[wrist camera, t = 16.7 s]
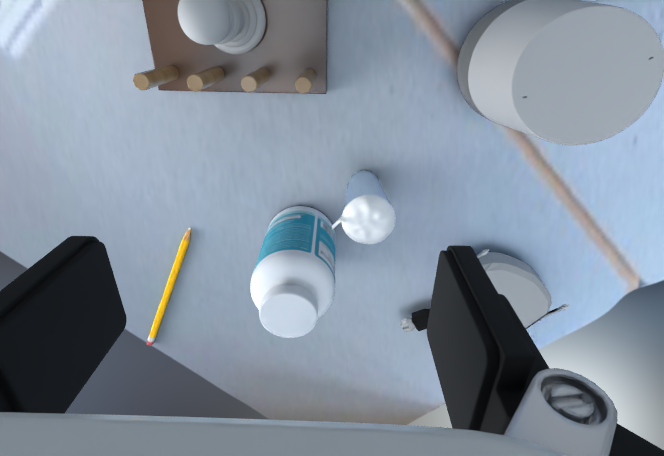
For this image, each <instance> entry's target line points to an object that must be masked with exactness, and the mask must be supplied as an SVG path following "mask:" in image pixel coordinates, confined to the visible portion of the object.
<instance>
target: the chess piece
mask: <svg viewBox="0 0 664 456" xmlns="http://www.w3.org/2000/svg"><path fill="white" fill-rule="evenodd" d="M178 19H179V23H180V25H181V28H182V30H183V31H184V33H185V34H186V35H187V36H188V37H189V38H190V39H191V40H193V41H195V42H197V43H199V44H204V45H212V44H214V45H215V46H216V47H217V48H219V49H220V50H222V51H224V52H227V53H230V54H243V53H246V52H249V51H251V50H252V49H254V48H255V47H256V46H257V45H258V44H259V42H260V41H261V39H262V37H263V34H264V31H265V25H266V17H265V11H264V8H263V5H262V2H261V1H260V0H180V1H179V4H178Z"/></svg>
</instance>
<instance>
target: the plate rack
mask: <svg viewBox="0 0 664 456" xmlns="http://www.w3.org/2000/svg"><path fill="white" fill-rule="evenodd" d="M142 1H143V7H144V12H145V17H146V23H147V28H148V34H149V39H150V45H151V50H152V55H153V61H154V66H155V69H153V70H149V71H145V72H141V73H137V74H135V75H134V78H133V82H134V85H135V86H136V87H137V88H138V89H140V90H147V89H150V88H153V87H156V86H158V88H159V90H170V91H216V92H263V93H302V94H305V93H309V94H326V91H327V0H260V1H261V2H262V5H263V8H264V11H265V17H266V25H265V31H264V34H263V37H262V39H261V41H260V42H259V44H258V45H257V46H256V47H255V48H254V49H252V50H251V51H249V52H246V53H243V54H230V53H227V52H224V51H222V50H220V49H219V48H217V47H216V46H215V45H214V44H212V45H204V44H199V43H197V42H195V41H193V40H191V39H190V38H189V37H188V36H187V35H186V34H185V33H184V31H183V30H182V28H181V25H180V23H179V19H178V4H179V1H180V0H142Z"/></svg>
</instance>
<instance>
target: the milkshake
mask: <svg viewBox="0 0 664 456" xmlns="http://www.w3.org/2000/svg"><path fill="white" fill-rule="evenodd" d="M341 221H342V226H343V229H344V231H345V233H346V234H347V235H348V236H349V237H350V238H351V239H352V240H354V241H356V242H359V243H364V244H376V243H379V242H381V241H383V240H384V239H385V238H386V237H387V236H388V235H389V234H390V233H391V232H392V231H393V229H394V226H395V221H396V216H395V212H394V209H393V207H392V205H391V203H390V202H389V200H388V198H387V196H386V194H385V192H384V189H383V187H382V185H381V183H380V181H379V179H378V177H377V176H375V175H374V174H373V173H372V172H371V171H362V170H360V171H359V172H357V173H355V174H353V175H352V176H351V178H350V180H349V182H348V185H347V191H346V198H345V205H344V209H343V214H342V216H341V217H340V218H339V219H338V220H337V221H336V222H335V223H334V224H333V225H332V229H331V230H333V229H334V228H335V227H336V226H337V225H338V224H339V223H340V222H341Z"/></svg>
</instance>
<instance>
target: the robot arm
mask: <svg viewBox="0 0 664 456" xmlns="http://www.w3.org/2000/svg"><path fill="white" fill-rule="evenodd" d="M125 326H126V314H125V311H124V308H123V304H122V301H121V298H120V295H119V291H118V288H117V285H116V281H115V278H114V275H113V271H112V268H111V265H110V261H109V258H108V255H107V251H106V248H105V245H104V244H103V243H102V242H99V240H98V239H97V238H96V237H94V236H71V237H69V238H67V239H66V240H65V241H63V242H62V243H61V244H60V245H58V246H57V247H56V248H54V249H53V250H52V251H51V252H49V253H48V254H47V255H46V256H44V257H43V258H42V259H40V260H39V261H38V262H37V263H35V264H34V265H33V266H32V267H30V268H29V269H28V270H27V271H25V272H24V273H23V274H21V275H20V276H19V277H18V278H16V279H15V280H14V281H12V282H11V283H10V284H9V285H7V286H6V287H5V288H4V289H2V290H1V291H0V456H664V450H662V449H660V448H658V447H657V446H655V445H653V444H652V443H650V442H648V441H646V440H645V439H643V438H641V437H640V436H638V435H636V434H634V433H633V432H631V431H629V430H627V429H626V428H624V427H622V426H620V425H619V424H617V410H616V408H615V406H614V404H613V402H612V400H611V399H610V398H609V397H608V395H607V394H606V393H605V392H604V391H603V390H602V389H601V388H600V387H598V386H597V385H596V384H595V383H594V382H592V381H590V380H588V379H587V378H585V377H583V376H582V375H579V374H577V373H574V372H571V371H568V370H563V369H557V368H556V369H555V368H554V369H549V367H548V365H547V364H546V362H545V360H544V359H543V357H542V355H541V354H540V352H539V350H538V349H537V347H536V346H535V344H534V342H533V341H532V339H531V337H530V336H529V334H528V332H527V331H526V329H525V327H524V326H523V324H522V322H521V321H520V319H519V317H518V316H517V314H516V312H515V311H514V309H513V307H512V306H511V304H510V302H509V301H508V299H507V298H506V297H505V295H502V294H498V292H497V290H496V289H495V287H494V285H493V284H492V282H491V280H490V278H489V277H488V275H487V273H486V271H485V270H484V268H483V266H482V265H481V263H480V261H479V259H478V258H477V256H476V254H475V253H474V251H473V249H472V248H471V247H470V246H448V248H447V251H441V252H440V255H439V261H438V266H437V272H436V278H435V284H434V289H433V295H432V301H431V307H430V312H429V318H428V324H427V336H428V341H429V344H430V348H431V351H432V355H433V359H434V362H435V366H436V370H437V373H438V377H439V381H440V384H441V388H442V391H443V395H444V399H445V402H446V406H447V410H448V413H449V416H450V421H451V424H452V428H442V427H426V426H409V425H390V424H371V423H346V422H318V421H291V420H263V419H231V418H200V417H167V416H134V415H96V414H64V413H65V412H66V410H67V409H68V408H69V406H70V405H71V403H72V402H73V401H74V399H75V398H76V396H77V395H78V393H79V392H80V391H81V389H82V388H83V386H84V385H85V384H86V382H87V381H88V379H89V378H90V376H91V375H92V374H93V372H94V371H95V370H96V368H97V367H98V365H99V364H100V362H101V361H102V360H103V358H104V357H105V355H106V354H107V353H108V351H109V350H110V348H111V347H112V346H113V344H114V343H115V341H116V340H117V338H118V337H119V336H120V334H121V333H122V332H123V330H124V328H125Z"/></svg>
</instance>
